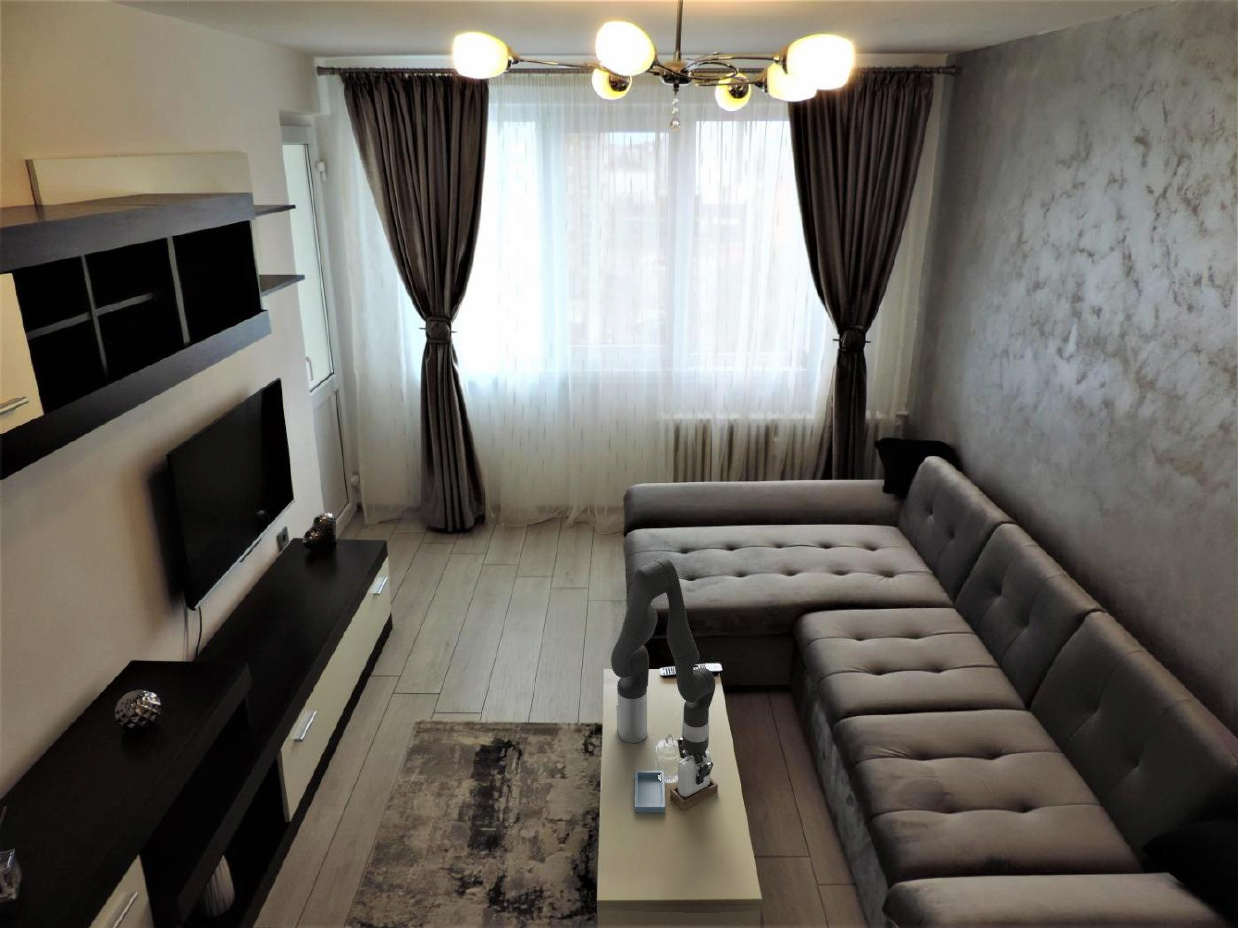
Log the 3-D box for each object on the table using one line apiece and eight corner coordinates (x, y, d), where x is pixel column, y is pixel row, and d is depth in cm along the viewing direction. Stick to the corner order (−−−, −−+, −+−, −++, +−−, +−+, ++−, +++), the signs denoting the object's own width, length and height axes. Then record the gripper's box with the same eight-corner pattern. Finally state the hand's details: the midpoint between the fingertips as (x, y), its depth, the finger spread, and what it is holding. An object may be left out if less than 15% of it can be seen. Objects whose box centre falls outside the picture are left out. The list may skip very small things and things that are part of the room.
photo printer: (702, 775, 257) (704, 743, 252) (712, 784, 254) (713, 751, 249) (675, 790, 252) (675, 757, 247) (684, 799, 249) (685, 767, 244)
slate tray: (635, 776, 260) (635, 770, 259) (663, 776, 260) (663, 770, 259) (634, 813, 247) (634, 806, 246) (665, 813, 247) (665, 806, 246)
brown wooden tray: (670, 796, 253) (670, 788, 252) (703, 778, 259) (703, 770, 258) (683, 810, 248) (684, 803, 247) (717, 792, 254) (717, 784, 253)
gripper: (669, 722, 248) (668, 768, 255) (701, 752, 237) (699, 799, 244) (690, 712, 251) (689, 757, 259) (722, 741, 241) (720, 787, 248)
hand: (694, 777), depth 251 cm, fingers closed on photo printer, 4 cm apart
